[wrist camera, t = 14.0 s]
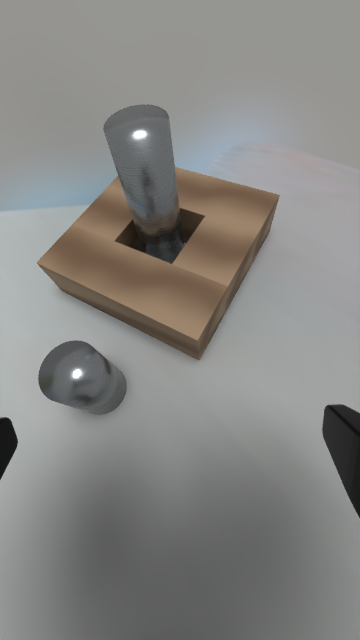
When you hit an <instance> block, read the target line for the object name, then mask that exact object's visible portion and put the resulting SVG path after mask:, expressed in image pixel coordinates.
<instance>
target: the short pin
mask: <svg viewBox="0 0 360 640" xmlns="http://www.w3.org/2000/svg"><path fill="white" fill-rule="evenodd" d="M38 380H39V386H40V389H41V391H42V392H43V394H44V395H45V396H46V397H47V398H49V399H50V400H52V401H55V402H58V403H62V404H65V405H68V406H71V407H75V408H78V409H81V410H84V411H88V412H91V413H94V414H105V413H108V412H110V411H112V410H114V409H115V408H116V407H118V406H119V404H120V403H121V402H122V400H123V398H124V396H125V393H126V380H125V377H124V375H123V374H122V373H121V372H120V371H119V370H118V369H117V368H116V367H115V366H114V365H113V364H111V363H110V362H109V361H108V360H107V359H106V358H105V357H104V356H102V355H101V354H100V353H99V352H98V351H97V350H96V349H94V348H93V347H92V346H91V345H90V344H88V343H86V342H83V341H69V342H65V343H63V344H61V345H59V346H57V347H56V348H54V349H53V350H52V351H51V352H50V353H49V354H48V355H47V356H46V358H45V359H44V361H43V363H42V365H41V367H40V370H39V378H38Z"/></svg>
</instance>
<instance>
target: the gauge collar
mask: <svg viewBox="0 0 360 640" xmlns="http://www.w3.org/2000/svg"><path fill="white" fill-rule="evenodd" d="M175 174H176V182H177V191H178V199H179V208H180V216H181V224H182V233H183V241H184V242H185V243H186V245H185V246H184V248H183V249H182V250H181V252H180V253H179V255H178V256H177V258H176V259H175V261H174V262H173V264H170V263H168V262H165V261H163V260H160V259H158V258H155V257H153V256H150V255H148V254H145V253H143V249H142V246H141V243H140V240H139V237H138V234H137V231H136V227H135V224H134V221H133V218H132V215H131V212H130V209H129V206H128V203H127V200H126V197H125V194H124V191H123V188H122V185H121V182H120V179H119V176H118V177H117V178H116V179H115V180H114V181H113V182H112V183H111V184H110V185H109V186H108V187H107V189H105V190H104V192H103V193H102V194H101V195H100V196H99V197H98V198H97V199H96V200H95V201H94V202H93V203H92V204H91V205H90V206H89V207H88V208H87V210H86V211H85V212H84V213H83V214H82V215H81V216H80V217H79V218H78V219H77V220H76V221H75V222H74V223H73V224H72V226H71V227H70V228H69V229H68V230H67V231H66V232H65V233H64V234H63V235H62V236H61V237H60V238H59V239H58V240H57V241H56V243H55V244H54V245H53V246H52V247H51V248H50V249H49V250H48V251H47V252H46V253H45V254H44V255H43V256H42V257H41V258H40V260H39V261H38V262H37V264H38V265H39V266H40V267H41V268H42V269H43V271H44V272H45V273H46V274H47V275H48V276H49V277H50V278H51V279H52V280H53V281H54V282H55V284H56V285H57V286H58V287H59V288H60V289H61V290H62V291H64V292H66V293H68V294H70V295H72V296H74V297H76V298H78V299H80V300H82V301H84V302H85V303H87V304H89V305H91V306H93V307H95V308H97V309H99V310H101V311H103V312H105V313H107V314H109V315H111V316H113V317H115V318H117V319H119V320H121V321H123V322H125V323H127V324H129V325H131V326H133V327H135V328H137V329H139V330H141V331H143V332H145V333H147V334H149V335H151V336H153V337H155V338H157V339H159V340H160V341H162V342H164V343H166V344H168V345H170V346H172V347H174V348H176V349H178V350H180V351H182V352H184V353H186V354H188V355H190V356H192V357H194V358H196V359H198V360H200V358H201V356H202V355H203V353H204V351H205V349H206V347H207V345H208V344H209V342H210V340H211V338H212V336H213V334H214V333H215V331H216V329H217V327H218V325H219V323H220V322H221V320H222V318H223V316H224V314H225V312H226V310H227V309H228V307H229V305H230V303H231V301H232V299H233V298H234V296H235V294H236V292H237V290H238V288H239V287H240V285H241V283H242V281H243V279H244V277H245V276H246V274H247V272H248V270H249V268H250V266H251V265H252V263H253V261H254V259H255V257H256V255H257V254H258V252H259V250H260V248H261V246H262V244H263V243H264V241H265V239H266V237H267V235H268V233H269V231H270V228H271V224H272V220H273V217H274V213H275V210H276V206H277V203H278V199H279V196H280V195H277V194H273V193H270V192H266V191H262V190H259V189H255V188H251V187H247V186H244V185H240V184H236V183H232V182H229V181H225V180H221V179H218V178H214V177H210V176H206V175H203V174H199V173H195V172H191V171H188V170H184V169H180V168H177V167H175Z"/></svg>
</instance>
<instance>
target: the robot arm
mask: <svg viewBox="0 0 360 640" xmlns="http://www.w3.org/2000/svg"><path fill="white" fill-rule="evenodd" d="M322 432H323V437H324V440H325V442H326V445H327V447H328V450H329V452H330V454H331V457H332V459H333V461H334V464H335V466H336V468H337V471H338V473H339V476H340V478H341V480H342V483H343V485H344V487H345V490H346V492H347V494H348V496H349V498H350V500H351V502H352V504H353V506H354V508H355V510H356V512H357V514H358V516H359V518H360V413H358V412H356V411H354V410H352V409H351V408H349V407H347V406H345V405H342V404H337V405H327V406H326V407H325V410H324V419H323V428H322ZM17 444H18V439H17V436H16V433H15V430H14V428H13V425H12V422H11V420H10V419H9V418H7V417H1V418H0V480H1V478H2V476H3V474H4V472H5V470H6V468H7V466H8V464H9V462H10V460H11V458H12V456H13V454H14V452H15V450H16V448H17Z"/></svg>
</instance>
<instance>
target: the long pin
mask: <svg viewBox="0 0 360 640" xmlns="http://www.w3.org/2000/svg"><path fill="white" fill-rule="evenodd" d="M104 133H105V136H106V139H107V142H108V145H109V148H110V151H111V154H112V157H113V160H114V163H115V167H116V170H117V172H118V176H119V179H120V182H121V185H122V188H123V191H124V194H125V197H126V200H127V203H128V206H129V209H130V212H131V215H132V218H133V221H134V224H135V227H136V231H137V234H138V237H139V240H140V243H141V246H142V249H143V252H144V253H145V254H148V255H150V256H153V257H155V258H158V259H160V260H163V261H165V262H168V263H170V264H173V262H174V261H175V259H176V258H177V256H178V255H179V253H180V252H181V250H182V249H183V248H184V241H183V233H182V224H181V216H180V208H179V199H178V191H177V182H176V174H175V165H174V157H173V149H172V140H171V132H170V124H169V116H168V114H167V112H166V111H165V110H164V109H162V108H160V107H157V106H154V105H135V106H131V107H127V108H124V109H122V110H120V111H118V112H116V113H114V114H113V115H111V116H110V117H109V118H108V119H107V121H106V122H105V124H104Z"/></svg>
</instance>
